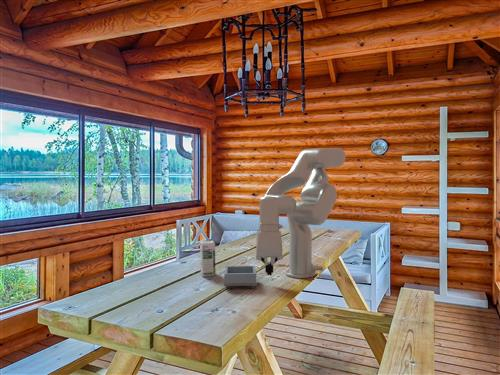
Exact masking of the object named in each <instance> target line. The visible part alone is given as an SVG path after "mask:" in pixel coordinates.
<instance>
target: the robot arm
mask: <svg viewBox="0 0 500 375" xmlns="http://www.w3.org/2000/svg"><path fill="white" fill-rule="evenodd" d="M346 158H347V157H346V153H345V151H344V149H342V148H341V147H330V148H327V147H325V148H324V147H322V148H321V147H318V148H307V149H305V148H304V149H303V150H302V151H301V152H299V154H298V155H297V158H296V159H295V161H294V162H293V164H292V166H291V167H290V169H289V171H288V172H287V173H286V174H284V175H283V176H281V177H280V178H279V179H277V180H276V181H275V182H274V183H272V185H270V187H269V188H268V190H267V191H266V193H265V195H264V196H261V197H260V198H259V230H258V231H257V233H256V240H255V242H256V243H255V245H256V246H255V252H256V254H255V260H256V261H261V262H262V263H263V264H264V265H265V268H264V270H265V273H266V276H272V274H273V273H274V265H275V263H277V262H278V261H282V260H284V257H283V240H282V233H281V231H280V230H281V229H283V227H284V226H283V225H282V224H280V215H281V214H284V215H286V217H287V222H288V232H289V235H288V236H289V240H288V242H289V243H288V244H289V245H288V246H289V248H288V250H289V254H288V256H289V257H288V258H289V268H288V269H287V270H286V271H285V275H286V276H288V277H290V278H295V279H297V278H298V279H307V278H313V277H314V276H316V271H324V269H323V268H324V266H323V265H318V264H313V263H312V258H313V257H312V255H313V254H312V252H313V251H312V250H313V249H312V248H313V246H312V245H313V244H312V243H313V242H312V239H313V238H312V237H313V236H312V231H311V228H310V226H311V225H312V226H322V225H323V224H324V223H325V222H326V221H327V219H328V217H329V215H330V213H331V211H332V210H333V208H334V206H335V204H336V201H337V199H338V198H337V197H338V196H337V195H338V191H337V188H336V186H334V185H333V184H331V183H329V181H330V180H329V179H330V178H329V175H328V173H327V172H326V170H325V169H331V168H340V167H342V166H343V165H344V164H345V162H346ZM302 186H303V187H302ZM300 187H302V190H301V192H300V196H299V197H300V200H296V198H294V197H293V196H291V195H288V194H285V193H287V192H289V191H292V190H295V189H297V188H300ZM309 225H310V226H309ZM268 258H270V261H268Z"/></svg>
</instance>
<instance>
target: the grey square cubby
mask: <svg viewBox="0 0 500 375" xmlns="http://www.w3.org/2000/svg"><path fill="white" fill-rule="evenodd" d="M256 270H257V269H256V265H225V267H224V273H223V276H224V278H223V279H224V282H223V283H224V287H227V289H228V290H232V289H233V287H239V286H240V287H242V286H244V287H246V286H247V287H248V288H249V289H251V290H252V289H253V288H254V286H257V271H256Z"/></svg>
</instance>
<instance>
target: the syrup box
mask: <svg viewBox="0 0 500 375" xmlns="http://www.w3.org/2000/svg"><path fill="white" fill-rule="evenodd" d="M199 249H200V251H199V256H200V257H199V258H200V259H199V260H200V262H199V264H200V275H201V277H202V278H205V277H215V276H216V275H217V274H216V243H215V241H214V240H203V241H202V240H201V241H199Z"/></svg>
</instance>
